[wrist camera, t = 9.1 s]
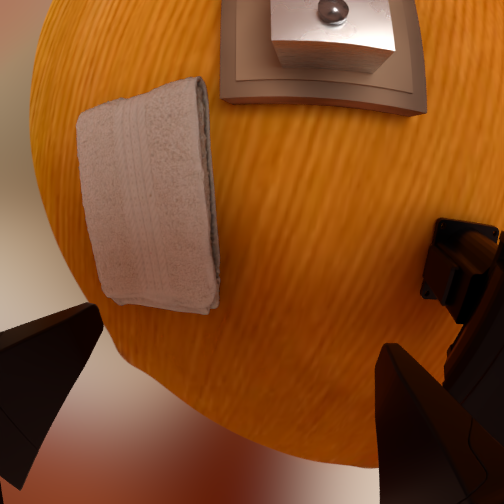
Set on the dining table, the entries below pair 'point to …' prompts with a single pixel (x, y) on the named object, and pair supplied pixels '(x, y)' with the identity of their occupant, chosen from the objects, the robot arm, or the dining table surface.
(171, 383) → the dining table surface
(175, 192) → the washcloth
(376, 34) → the housing
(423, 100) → the tray
